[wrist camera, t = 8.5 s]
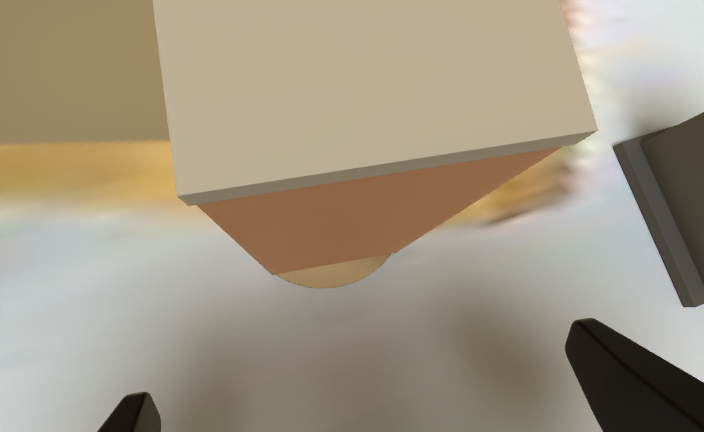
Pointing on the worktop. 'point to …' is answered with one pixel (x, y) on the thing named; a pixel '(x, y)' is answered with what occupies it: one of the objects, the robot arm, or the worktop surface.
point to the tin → (359, 115)
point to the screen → (672, 199)
